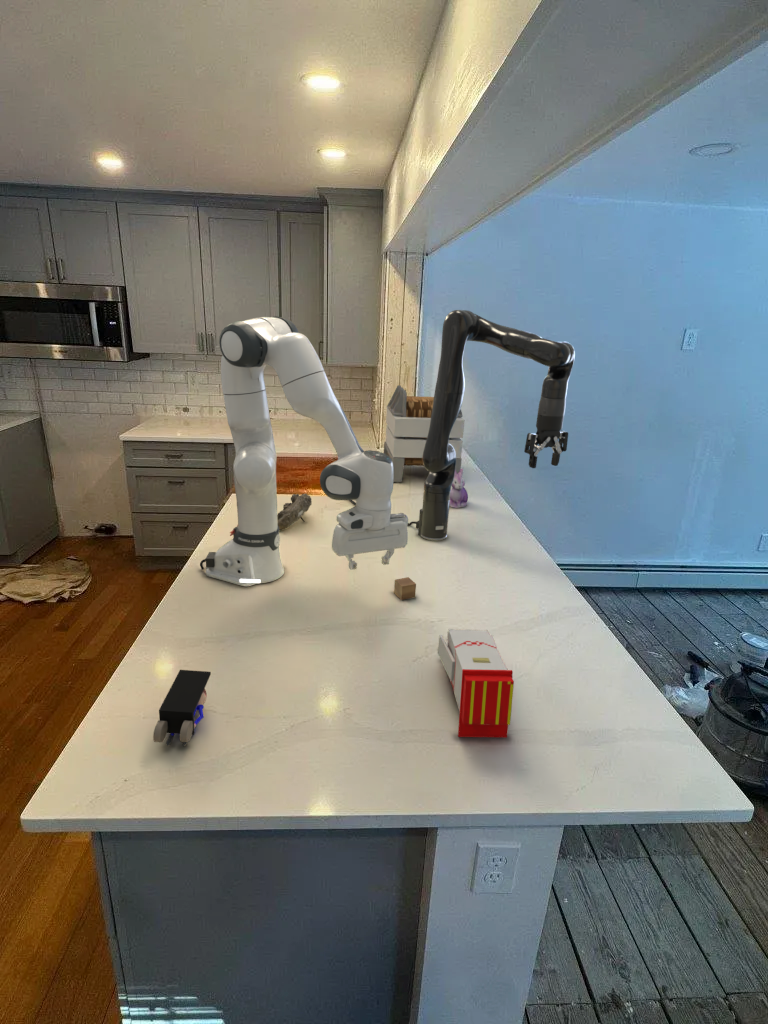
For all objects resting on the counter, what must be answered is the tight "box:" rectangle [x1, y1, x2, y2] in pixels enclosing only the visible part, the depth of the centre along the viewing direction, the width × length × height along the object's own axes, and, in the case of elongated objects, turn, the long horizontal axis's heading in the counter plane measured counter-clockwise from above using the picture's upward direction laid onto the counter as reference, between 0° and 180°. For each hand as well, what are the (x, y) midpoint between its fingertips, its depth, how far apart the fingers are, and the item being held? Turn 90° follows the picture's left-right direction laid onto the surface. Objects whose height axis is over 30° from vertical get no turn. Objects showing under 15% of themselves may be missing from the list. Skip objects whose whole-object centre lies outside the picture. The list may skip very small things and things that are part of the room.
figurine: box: [449, 468, 469, 509], centre depth 230 cm, size 9×10×15 cm
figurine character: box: [152, 669, 212, 747], centre depth 104 cm, size 7×8×15 cm
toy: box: [437, 628, 515, 738], centre depth 117 cm, size 12×13×30 cm
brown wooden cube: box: [393, 576, 417, 601], centre depth 157 cm, size 4×4×4 cm
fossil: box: [277, 493, 313, 531], centre depth 205 cm, size 22×10×15 cm
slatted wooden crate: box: [383, 384, 465, 483], centre depth 268 cm, size 34×33×41 cm
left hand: (368, 566), depth 146 cm, fingers open, 8 cm apart
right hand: (543, 466), depth 171 cm, fingers open, 8 cm apart
